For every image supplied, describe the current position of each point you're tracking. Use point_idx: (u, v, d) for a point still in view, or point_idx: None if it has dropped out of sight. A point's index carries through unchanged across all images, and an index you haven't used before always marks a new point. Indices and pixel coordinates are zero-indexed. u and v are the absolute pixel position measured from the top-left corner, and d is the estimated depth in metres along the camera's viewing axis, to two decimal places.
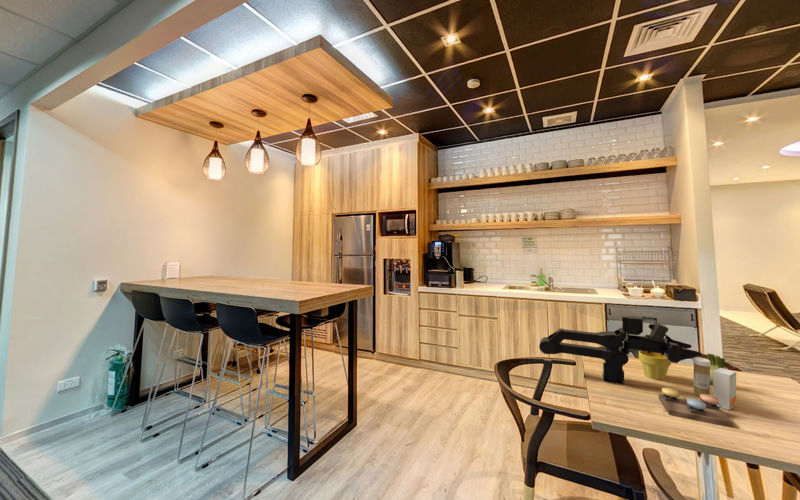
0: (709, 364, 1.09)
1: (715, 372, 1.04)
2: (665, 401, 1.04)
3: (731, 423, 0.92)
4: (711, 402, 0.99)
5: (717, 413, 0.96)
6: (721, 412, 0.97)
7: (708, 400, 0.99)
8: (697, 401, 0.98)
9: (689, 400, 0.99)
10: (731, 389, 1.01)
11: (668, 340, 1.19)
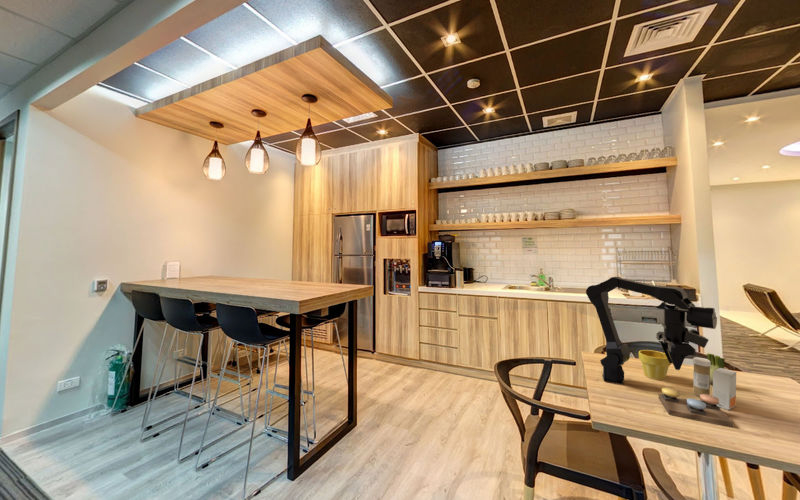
0: (709, 364, 1.09)
1: (715, 372, 1.04)
2: (665, 401, 1.04)
3: (731, 423, 0.92)
4: (711, 402, 0.99)
5: (717, 413, 0.96)
6: (721, 412, 0.97)
7: (708, 400, 0.99)
8: (697, 401, 0.98)
9: (689, 400, 0.99)
10: (731, 389, 1.01)
11: None
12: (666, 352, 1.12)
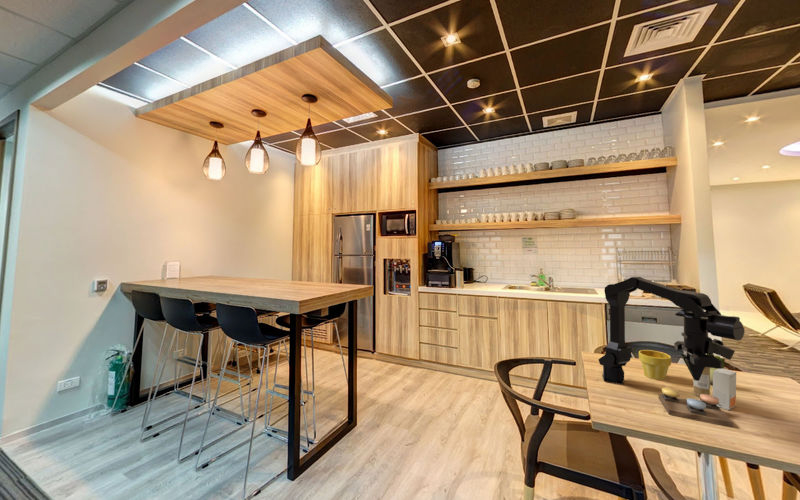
0: None
1: (715, 372, 1.04)
2: (665, 401, 1.04)
3: (731, 423, 0.92)
4: (711, 402, 0.99)
5: (717, 413, 0.96)
6: (721, 412, 0.97)
7: (708, 400, 0.99)
8: (697, 401, 0.98)
9: (689, 400, 0.99)
10: (731, 389, 1.01)
11: None
12: None
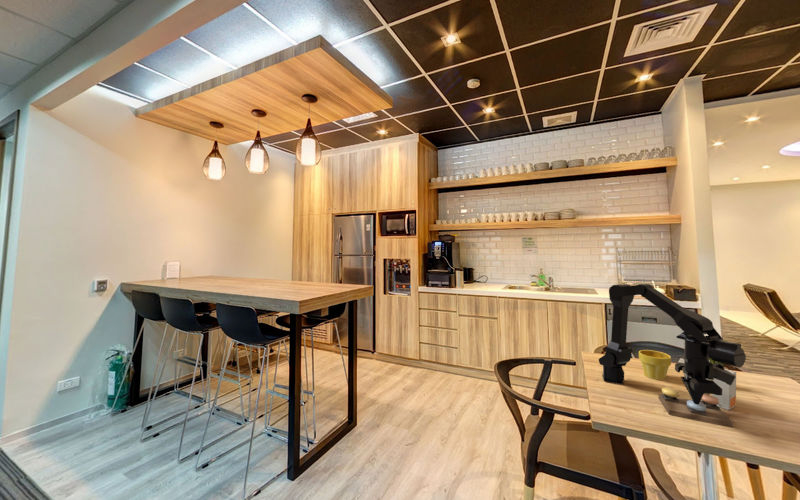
0: None
1: None
2: (665, 401, 1.04)
3: (731, 423, 0.92)
4: (711, 402, 0.99)
5: (717, 413, 0.96)
6: (721, 412, 0.97)
7: (708, 400, 0.99)
8: None
9: (689, 402, 0.99)
10: (731, 389, 1.01)
11: None
12: None
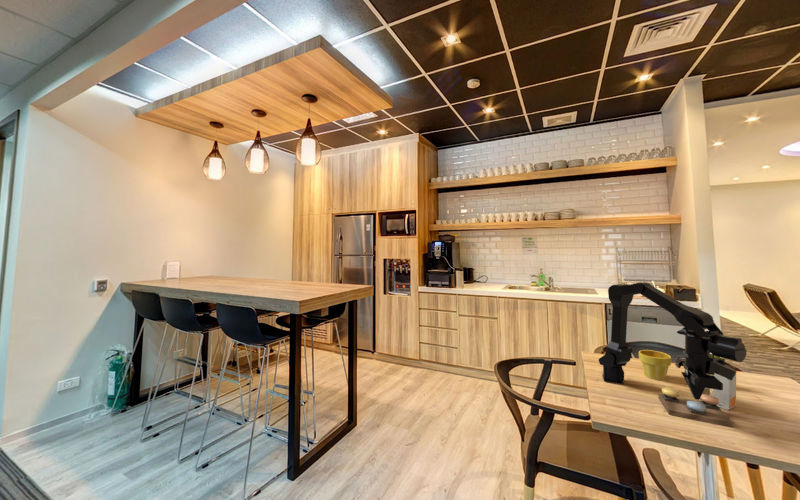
0: None
1: None
2: (665, 401, 1.04)
3: (731, 423, 0.92)
4: (711, 402, 0.99)
5: (717, 413, 0.96)
6: (721, 412, 0.97)
7: (708, 400, 0.99)
8: (697, 403, 0.98)
9: (689, 402, 0.99)
10: (731, 389, 1.01)
11: None
12: None
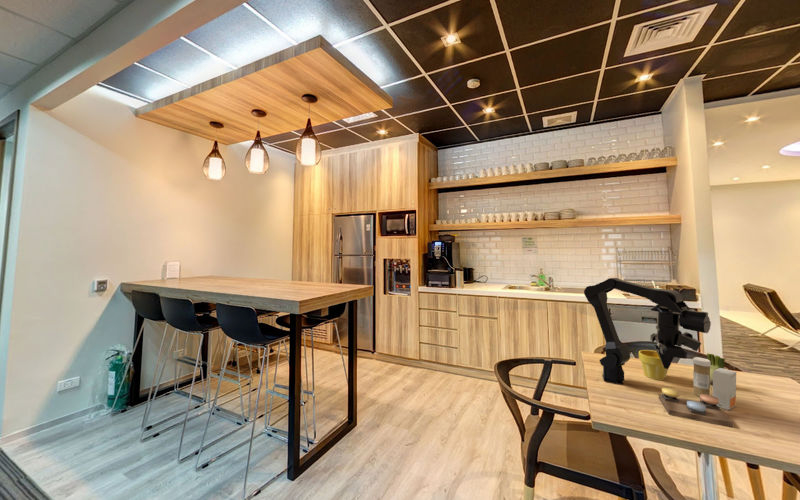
0: (709, 364, 1.09)
1: (715, 372, 1.04)
2: (665, 401, 1.04)
3: (731, 423, 0.92)
4: (711, 402, 0.99)
5: (717, 413, 0.96)
6: (721, 412, 0.97)
7: (708, 400, 0.99)
8: (697, 403, 0.98)
9: (689, 402, 0.99)
10: (731, 389, 1.01)
11: None
12: None
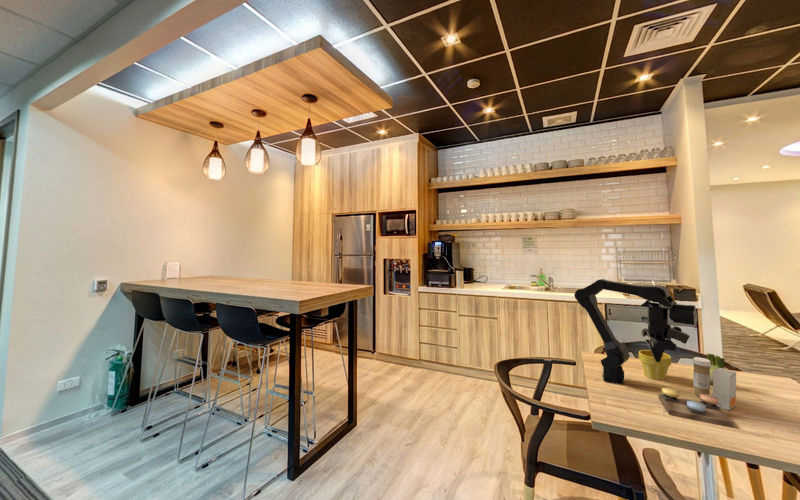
0: (709, 364, 1.09)
1: (715, 372, 1.04)
2: (665, 401, 1.04)
3: (731, 423, 0.92)
4: (711, 402, 0.99)
5: (717, 413, 0.96)
6: (721, 412, 0.97)
7: (708, 400, 0.99)
8: (697, 403, 0.98)
9: (689, 402, 0.99)
10: (731, 389, 1.01)
11: None
12: None
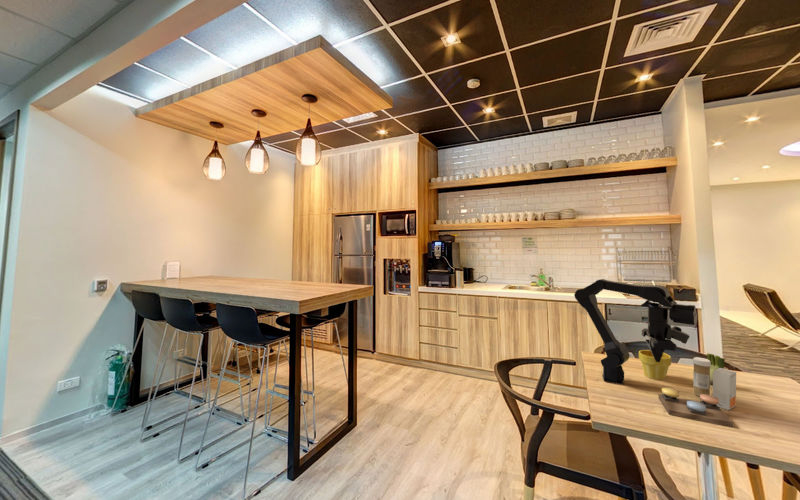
0: (709, 364, 1.09)
1: (715, 372, 1.04)
2: (665, 401, 1.04)
3: (731, 423, 0.92)
4: (711, 402, 0.99)
5: (717, 413, 0.96)
6: (721, 412, 0.97)
7: (708, 400, 0.99)
8: (697, 403, 0.98)
9: (689, 402, 0.99)
10: (731, 389, 1.01)
11: None
12: None
